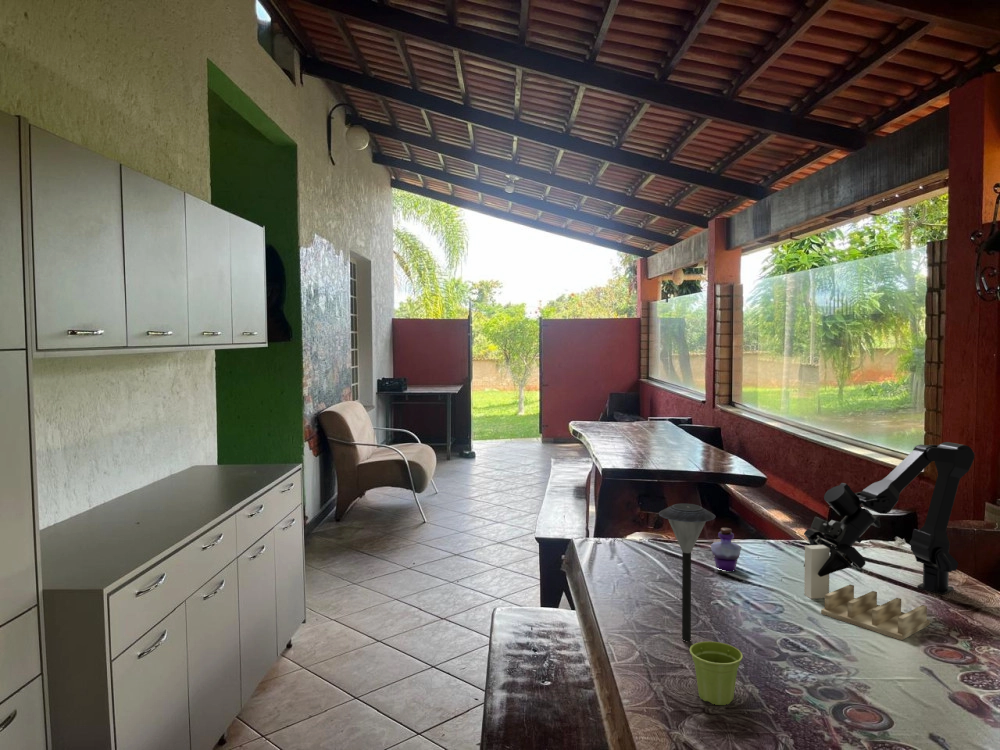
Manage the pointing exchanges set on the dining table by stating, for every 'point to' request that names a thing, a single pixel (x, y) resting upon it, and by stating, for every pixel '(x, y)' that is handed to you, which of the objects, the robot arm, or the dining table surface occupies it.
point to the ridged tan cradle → (874, 613)
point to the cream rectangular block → (815, 571)
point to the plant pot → (716, 670)
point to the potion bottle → (726, 551)
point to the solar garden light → (686, 548)
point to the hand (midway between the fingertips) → (811, 571)
